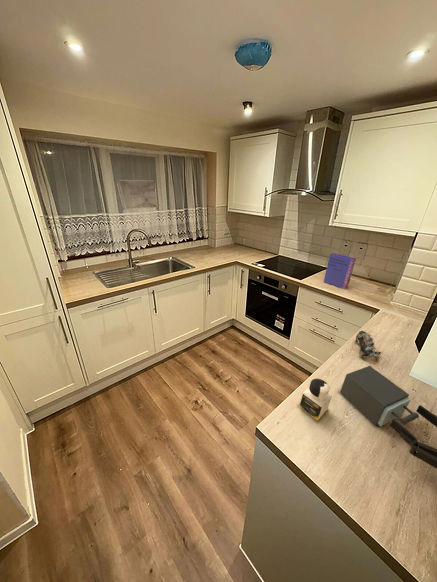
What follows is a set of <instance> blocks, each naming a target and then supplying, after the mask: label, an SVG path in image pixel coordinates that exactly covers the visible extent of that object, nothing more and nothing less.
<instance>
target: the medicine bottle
mask: <svg viewBox="0 0 437 582" xmlns="http://www.w3.org/2000/svg"><path fill="white" fill-rule="evenodd" d="M330 389H331V388H330V385H329V384H328V383H327V382H326V381H325V380H324V379H322V378H313V379H311V381H310V384H309V387H308V388H306V390H304V391H303V393H302V395H301V399H300V403H299V408H300V409H302V410H303V411H304V412H305V413H306V414H307V415H309V416H311V418H313V419H314V420H316V421H319V420H320V418H321V417H322V416H323V415H324V414H325V413H327V411H328V409H329V406H330V403H331V400H332V394H331V393H329V392H330Z"/></svg>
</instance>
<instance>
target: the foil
mask: <svg viewBox="0 0 437 582" xmlns="http://www.w3.org/2000/svg"><path fill="white" fill-rule="evenodd" d="M355 343H356V344H357V345H359V349H358V350H359V358H360V359H363V358H365V357H367V358H369V359H370V358H371V356H372V357H374V360H375V361H376V362H378V359H379V356H380V355H381V354H382V351H377V350H378V349H377V348H376V347H375V341H374V338H373V337H372V335H371V334H370V333H368V332H366V331H364V330H361V331H360V330H359V331H358V333H356V335H355Z"/></svg>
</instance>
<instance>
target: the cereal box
mask: <svg viewBox="0 0 437 582" xmlns="http://www.w3.org/2000/svg"><path fill="white" fill-rule="evenodd" d="M356 260H357V258H355V257H350V256H347V255H342V254H338V253H333V252H332V253H330V254H329V257H328V261H327V266H326V270H325V273H324V278H323V283H324V284H328V285H330V286H334V287H337V288H339V289H343V290H346V289H348V287H349V284H350V281H351V278H352V273H353V270H354V267H355V264H356Z"/></svg>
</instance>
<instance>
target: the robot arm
mask: <svg viewBox="0 0 437 582" xmlns="http://www.w3.org/2000/svg"><path fill="white" fill-rule="evenodd" d="M415 413H417V414H418V415H419V416H422V418H424V419H425V420H427V421H428V422H429V423H430V424H432V425H433V426H434V427H435V428H437V415H436V414H434V413H432V412H431V411H430V410H429V409H427V408H425V407H424V406H423V405H422V404H419V405H418V407H417V409H416V410H415ZM388 426H389V427H390V428H391V429H392V430H394V431H395V432H396V433H397V434H398V436H399V437H400V438H401V439H402V440H403V441H404V442H405V443H407V445H408V446H410V448H409V450H408V453H409V454H410V455H411V456H413V457H415V458H417V459H419V460H421V461H423V462H424V463H426V464H428V466H429V465H430V466H431V467H433V468H434V469H437V448H436V447H433V446H431V445H428V444H425V443H422V442H420V441H418V438H417V437H416V436H415V435H414V434H413V433H411V432H410V431H409V430H408V429H407V428H406V427H404V425H402V424H401V423H400V422H398V421H397V420H396V419H393V420H392V421H390V422H389V425H388Z"/></svg>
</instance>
